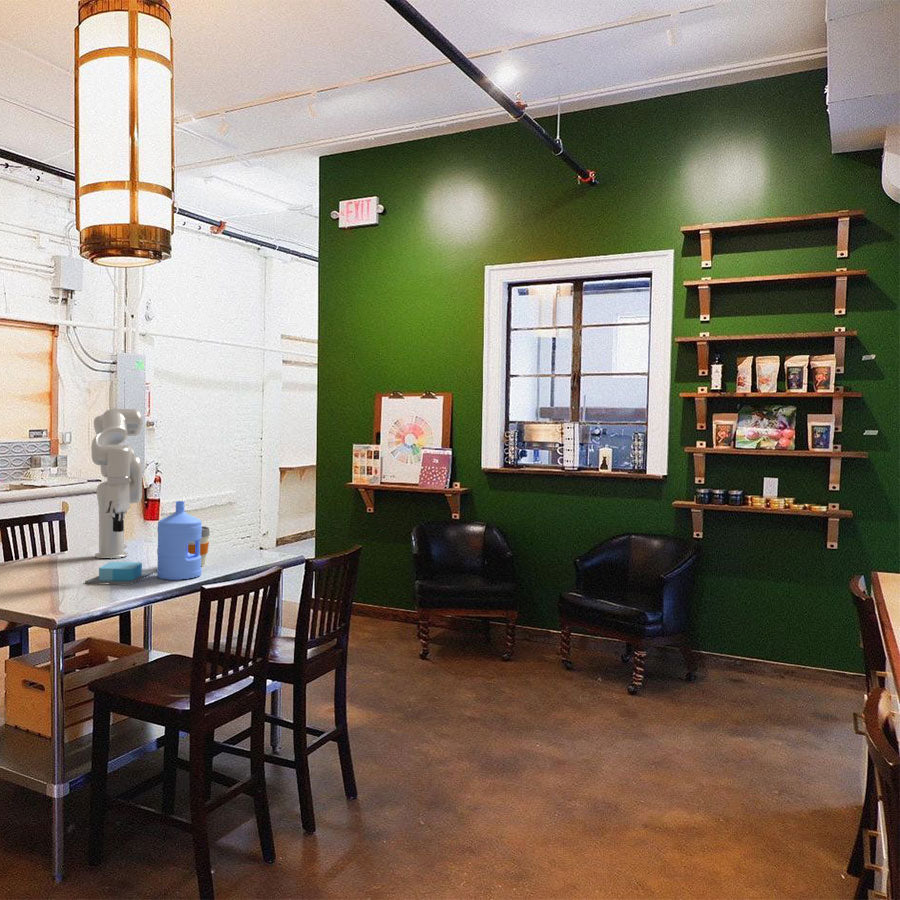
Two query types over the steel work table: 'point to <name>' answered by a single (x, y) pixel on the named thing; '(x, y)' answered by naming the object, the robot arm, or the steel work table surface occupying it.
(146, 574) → the mat
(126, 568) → the data package
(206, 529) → the reusable coffee cup
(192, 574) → the water jug
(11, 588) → the steel work table surface
